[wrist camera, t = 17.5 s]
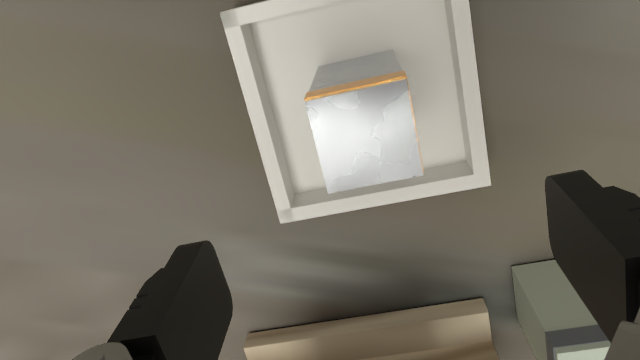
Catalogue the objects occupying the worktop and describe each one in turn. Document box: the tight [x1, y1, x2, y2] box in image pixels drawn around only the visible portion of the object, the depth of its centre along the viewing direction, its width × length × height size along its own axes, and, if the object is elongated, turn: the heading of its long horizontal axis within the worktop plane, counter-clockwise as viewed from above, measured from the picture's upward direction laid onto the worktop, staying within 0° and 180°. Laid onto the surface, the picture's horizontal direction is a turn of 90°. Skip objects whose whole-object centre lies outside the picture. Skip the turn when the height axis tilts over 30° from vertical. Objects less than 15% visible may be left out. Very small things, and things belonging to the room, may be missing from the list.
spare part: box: [304, 49, 424, 194], centre depth 24 cm, size 4×4×8 cm
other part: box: [511, 260, 611, 360], centre depth 29 cm, size 4×4×8 cm
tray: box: [220, 0, 491, 224], centre depth 28 cm, size 12×12×3 cm
